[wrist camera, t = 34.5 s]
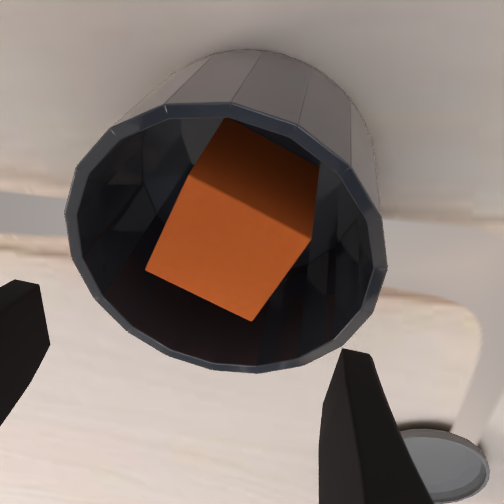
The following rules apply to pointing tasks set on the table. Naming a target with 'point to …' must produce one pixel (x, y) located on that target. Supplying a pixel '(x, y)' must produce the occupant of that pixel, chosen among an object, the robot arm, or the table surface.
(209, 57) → the desk cup
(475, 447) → the pocket watch
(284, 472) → the table surface
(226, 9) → the table surface
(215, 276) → the orange block
